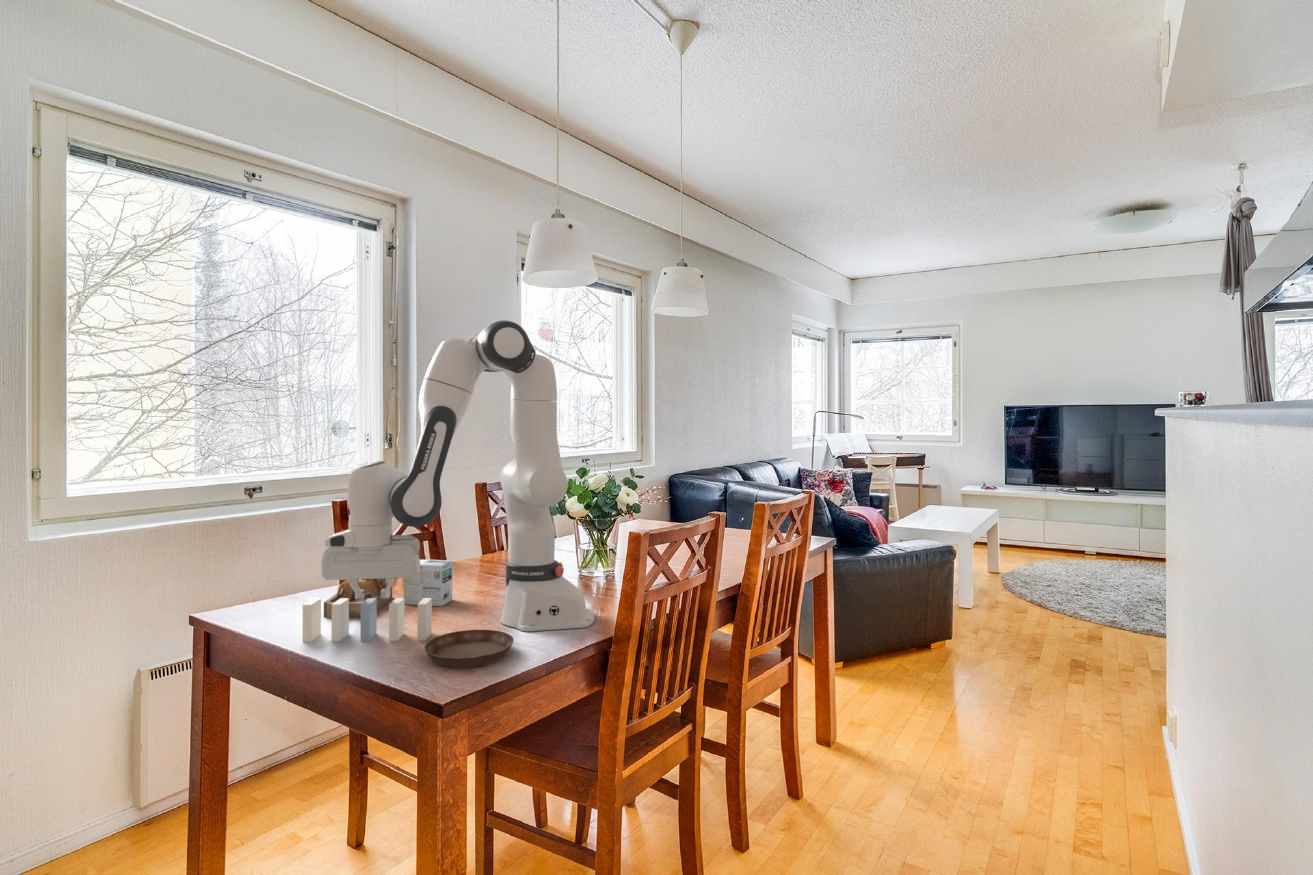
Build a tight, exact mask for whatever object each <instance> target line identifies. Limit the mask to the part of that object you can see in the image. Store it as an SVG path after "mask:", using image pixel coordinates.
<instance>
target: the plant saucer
mask: <svg viewBox="0 0 1313 875" xmlns="http://www.w3.org/2000/svg"><path fill="white" fill-rule="evenodd" d="M514 641H515V640H514V637H513V636H512V635H510V634H509V633H507V632H503V631H500V630H493V629H467V630H458V631H453V632H448V633H444V634H441V635H438V636H436V637H433V638H432V639H430V640H428V641H427V642H426V643H425V644H424V647H423V649H424V651H425V653H426V655H427V656H428V657H429V658H430V659H431V660H432V661H433V662H434V663H436V664H438V665H439V666H442V667H447V668H453V669H454V668H455V669H457V668H458V669H466V668H475V667H482V666H486V665H489V664H492V663H496V662H497V661H499V660H501V659H503V657H505V655H506V654H507V653H508V651H509V650H510V649H511V648H512V645H513V644H514Z"/></svg>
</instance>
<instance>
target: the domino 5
mask: <svg viewBox="0 0 1313 875" xmlns="http://www.w3.org/2000/svg"><path fill="white" fill-rule="evenodd" d="M432 610H433V606H432V598H423V599H422V600H421V601H420V602H419V603H418V605H417V628H416V630H417V633H416V634H417V636H416V637H417V638H416V640H417V641H418V642H419V641H424V642H425V641H427V640H428V639H429V637H430V636H431V635H432V630H433V629H432V627H433V626H432V624H433V623H432V621H433V619H432V616H433V613H432V612H433V611H432Z"/></svg>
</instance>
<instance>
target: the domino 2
mask: <svg viewBox="0 0 1313 875" xmlns="http://www.w3.org/2000/svg"><path fill="white" fill-rule="evenodd" d="M349 624H350V618H349V598H340V599H339V600H337V601H336V602H335V603H333V604H332V618H331V642H341V641H342V640H344V639H345V638H346V637H347V636H348V635H349V632H350V631H349V630H350V625H349Z"/></svg>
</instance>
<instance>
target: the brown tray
mask: <svg viewBox="0 0 1313 875" xmlns="http://www.w3.org/2000/svg"><path fill="white" fill-rule="evenodd" d="M342 591H343V589H341V592H340V594H341V593H342ZM339 598H340V595H339ZM339 598H338V596H337V593H335V594H334V595H333V596H331V597H330V598H328V599H327V600H326V601H324V602H323V618H326V619H332V604H333V603H335V602H336V601H337V600H339ZM344 598H346V596H345V597H344ZM368 598H371V594H365V597H364V598H363V599H368ZM373 598H377V612H378V611H379V610H380V609H381V608H382V607H384V606H385V605H386V604H387V603H388V602H389V601H391V599H393V586H392V587H391V588H390V597H389V598H381V592H380V593H379V594H376V595H375V596H374V597H373ZM353 599H355V592H353V594H352V596H351V599H350V602H349V619H361V604H362V603H363V602H364V601H359V602H358V601H356V602H355V601H351V600H353Z"/></svg>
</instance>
